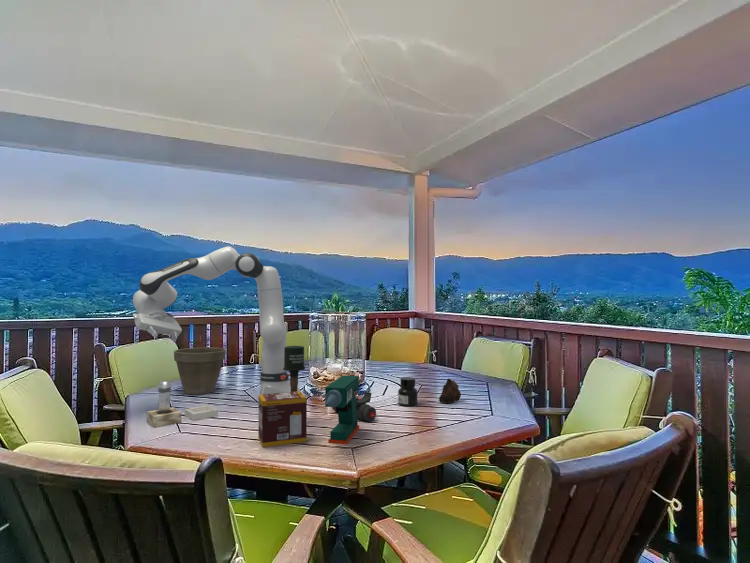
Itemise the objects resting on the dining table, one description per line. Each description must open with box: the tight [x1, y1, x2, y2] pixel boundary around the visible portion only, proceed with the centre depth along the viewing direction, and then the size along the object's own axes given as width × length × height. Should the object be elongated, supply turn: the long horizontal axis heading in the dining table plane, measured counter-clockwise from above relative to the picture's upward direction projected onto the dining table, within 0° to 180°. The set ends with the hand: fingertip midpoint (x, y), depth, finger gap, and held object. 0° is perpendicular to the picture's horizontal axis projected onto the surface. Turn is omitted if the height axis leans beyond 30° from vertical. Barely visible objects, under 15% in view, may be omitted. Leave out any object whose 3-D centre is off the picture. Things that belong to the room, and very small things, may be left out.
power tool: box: [324, 374, 360, 445], centre depth 154 cm, size 32×7×20 cm, turn 168°
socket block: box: [146, 406, 182, 428], centre depth 176 cm, size 10×10×4 cm
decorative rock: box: [438, 378, 462, 404], centre depth 209 cm, size 12×6×11 cm, turn 130°
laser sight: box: [331, 391, 377, 423], centre depth 185 cm, size 10×22×10 cm, turn 45°
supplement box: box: [257, 390, 308, 448], centre depth 155 cm, size 10×15×16 cm
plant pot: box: [173, 346, 227, 395], centre depth 228 cm, size 25×25×22 cm
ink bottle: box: [397, 376, 418, 407], centre depth 204 cm, size 10×9×12 cm
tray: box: [184, 404, 219, 421], centre depth 185 cm, size 10×10×3 cm
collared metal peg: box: [157, 380, 171, 415], centre depth 176 cm, size 4×4×16 cm
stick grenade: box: [283, 345, 306, 392], centre depth 176 cm, size 8×9×30 cm
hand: (165, 337), depth 186 cm, fingers open, 8 cm apart
